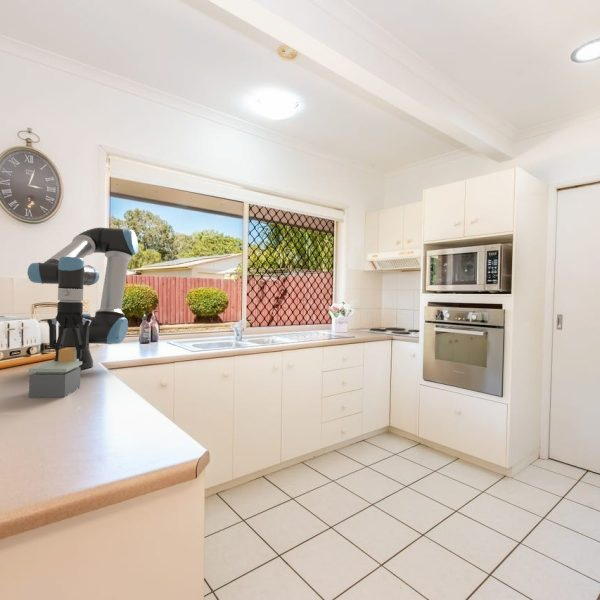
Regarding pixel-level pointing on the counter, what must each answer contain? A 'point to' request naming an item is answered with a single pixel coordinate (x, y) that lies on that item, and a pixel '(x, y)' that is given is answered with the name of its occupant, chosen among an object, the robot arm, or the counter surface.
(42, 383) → the tub
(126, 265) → the robot arm
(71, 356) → the lid
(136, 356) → the counter surface
